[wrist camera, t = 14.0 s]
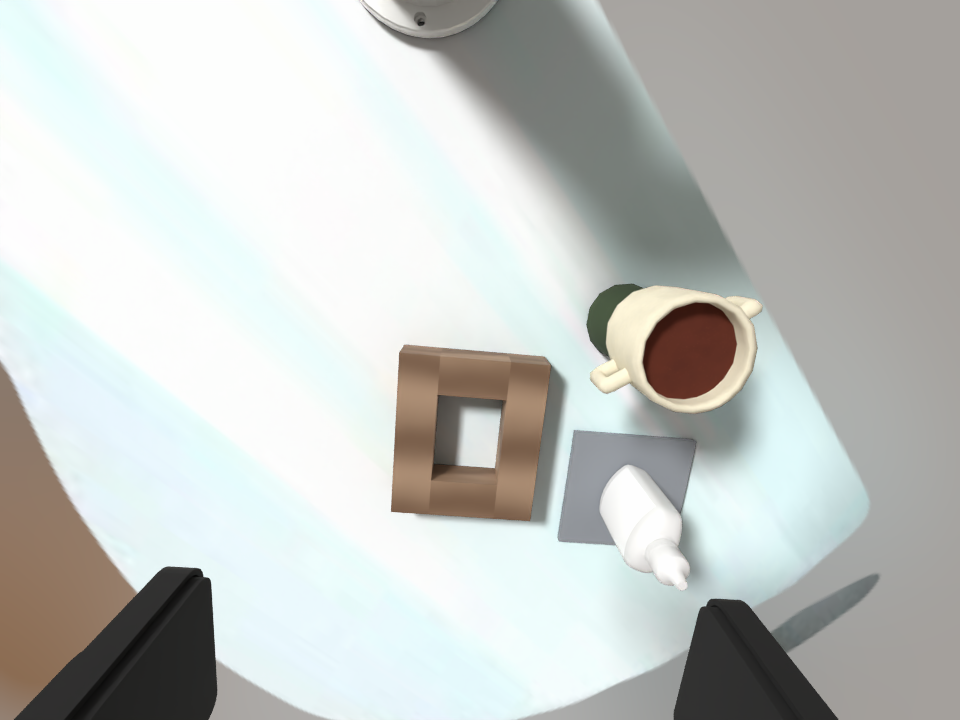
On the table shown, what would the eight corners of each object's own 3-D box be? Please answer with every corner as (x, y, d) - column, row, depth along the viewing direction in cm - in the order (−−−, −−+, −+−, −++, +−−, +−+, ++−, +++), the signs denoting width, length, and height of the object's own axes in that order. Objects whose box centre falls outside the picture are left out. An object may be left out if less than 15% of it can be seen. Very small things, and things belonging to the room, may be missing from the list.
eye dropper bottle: (583, 490, 41) (629, 585, 29) (635, 456, 40) (703, 540, 29) (608, 523, 42) (662, 629, 30) (659, 491, 41) (735, 586, 30)
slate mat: (574, 430, 40) (575, 432, 40) (693, 439, 41) (696, 442, 40) (557, 537, 43) (558, 541, 42) (669, 544, 43) (672, 548, 43)
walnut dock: (404, 344, 38) (399, 352, 35) (544, 356, 39) (551, 365, 36) (396, 493, 41) (391, 511, 38) (525, 502, 42) (530, 521, 39)
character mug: (582, 386, 39) (636, 451, 27) (544, 316, 38) (583, 349, 25) (696, 324, 38) (808, 362, 26) (662, 250, 37) (764, 250, 24)
